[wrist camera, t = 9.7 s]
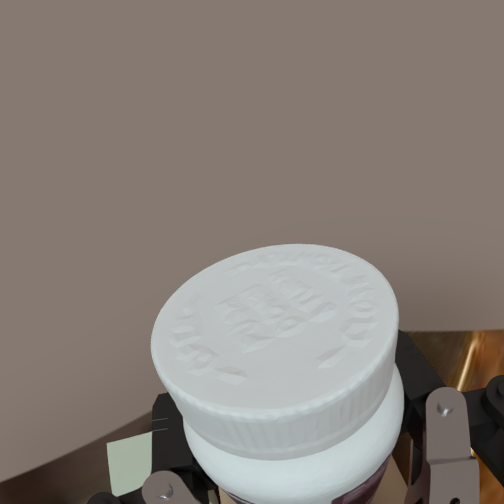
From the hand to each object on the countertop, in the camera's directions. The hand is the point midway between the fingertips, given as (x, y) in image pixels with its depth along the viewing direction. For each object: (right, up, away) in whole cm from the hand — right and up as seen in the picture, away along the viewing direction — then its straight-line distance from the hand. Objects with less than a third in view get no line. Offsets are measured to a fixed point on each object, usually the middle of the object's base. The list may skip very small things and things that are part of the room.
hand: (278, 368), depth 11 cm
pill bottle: (+2, -7, +1) cm, 7 cm away
